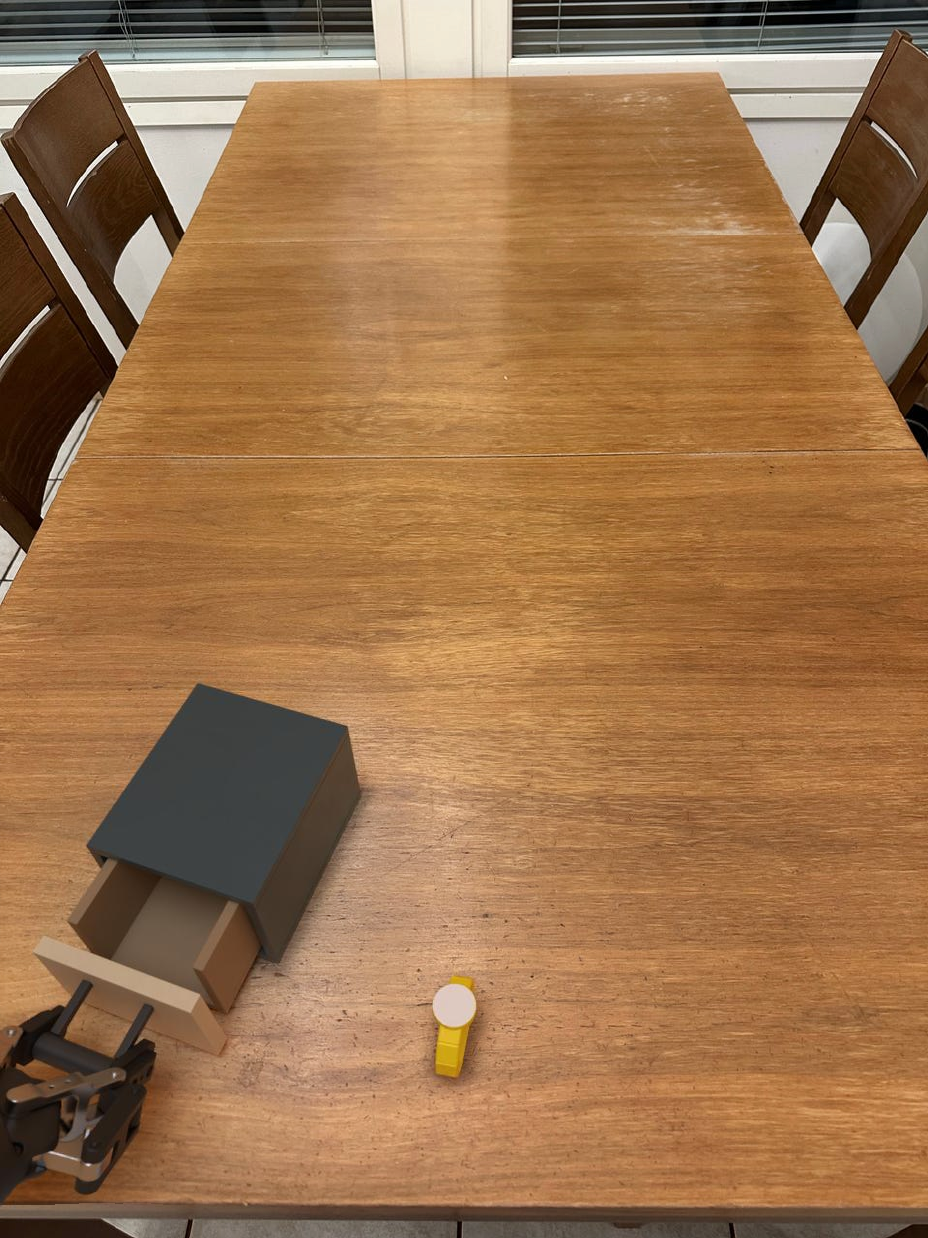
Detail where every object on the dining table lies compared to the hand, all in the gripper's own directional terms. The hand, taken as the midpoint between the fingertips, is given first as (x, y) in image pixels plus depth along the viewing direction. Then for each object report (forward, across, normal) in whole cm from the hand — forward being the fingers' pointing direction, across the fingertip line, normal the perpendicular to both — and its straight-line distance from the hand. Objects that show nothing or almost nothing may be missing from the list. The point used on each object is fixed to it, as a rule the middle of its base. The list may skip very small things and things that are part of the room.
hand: (105, 1037), depth 59 cm
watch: (+10, +20, +2) cm, 22 cm away
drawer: (+8, 0, +2) cm, 8 cm away
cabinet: (+15, 0, +8) cm, 17 cm away
